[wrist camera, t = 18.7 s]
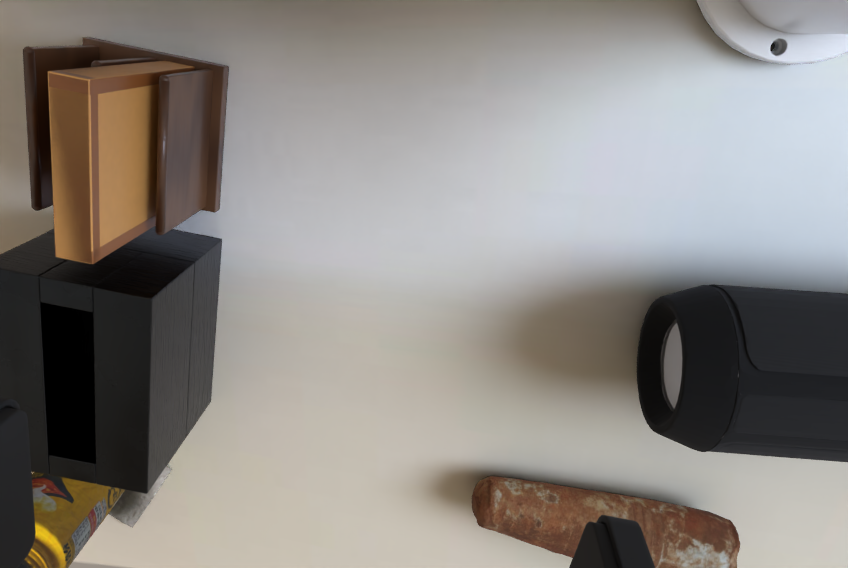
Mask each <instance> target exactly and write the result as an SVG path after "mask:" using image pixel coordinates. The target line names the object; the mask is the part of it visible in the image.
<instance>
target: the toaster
mask: <svg viewBox="0 0 848 568" xmlns="http://www.w3.org/2000/svg"><path fill="white" fill-rule="evenodd" d="M221 246H222V239H218V238H213V237H208V236H203V235H198V234H193V233H188V232H183V231H178V230H173V229H171V230H170V231H168V232H167V233H165V234H163V235H158V234H156V232H155V226H154V227H152V228H150V229H149V230H147V231H146V232H144V233H142V234H141V235H139V236H138V237H136V238H134V239H133V240H131V241H130V242H128V243H126V244H125V245H123V246H121V247H120V248H118V249H117V250H115V251H113V252H112V253H110V254H109V255H107V256H105V257H104V258H102V259H101V260H99V261H97V262H96V263H94V264H89V263H84V262H79V261H74V260H69V259H64V258H59V257H55V232H54V229H53V230H50V231H48V232H46V233H45V234H43V235H41V236H38V237H36V238H34V239H32V240H30V241H28V242H26V243H24V244H22V245H20V246H18V247H15V248H13V249H11V250H9V251H7V252H5V253H3V254H1V255H0V397H4V398H9V399H13V400H16V401H17V403H18V404H19V407H20V410H22V411H25V413H26V414H27V418H28V429H29V444H30V458H31V471H32V472H37V473H42V474H47V475H49V474H50V475H52V476H57V477H63V478H68V479H73V480H78V481H83V482H88V483H94V484H98V485H103V486H108V487H113V488H119V489H124V490H129V491H134V492H139V493H144V494H147V493H148V492H149V491H150V489H151V488H152V486H153V485H154V483H155V482H156V480H157V479H158V477H159V476H160V475H161V473H162V472H163V470H164V469H165V467H166V466H167V464H168V463H169V461H170V460H171V459H172V457H173V456H174V454H175V453H176V451H177V450H178V448H179V447H180V445H181V444H182V442H183V441H184V440H185V438H186V437H187V435H188V434H189V432H190V431H191V430H192V428H193V427H194V425H195V424H196V422H197V421H198V419H199V418H200V416H201V415H202V414H203V412H204V411H205V409H206V408H207V406H208V405H209V403H210V402H211V391H212V377H213V362H214V348H215V333H216V319H217V304H218V290H219V275H220V260H221Z"/></svg>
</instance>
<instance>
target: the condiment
mask: <svg viewBox="0 0 848 568" xmlns="http://www.w3.org/2000/svg"><path fill="white" fill-rule="evenodd" d="M171 470H172V469H170V468H168V467H167V466H166V467H165V469H164V470H163V472H162V473H161V475H160V476H159V477H158V479H157V480H156V482H155V483H154V485H153V486H152V488H151V489H150V491H149V492H148V493H147V494H144V493H139V492H134V491H129V490H124V489H119V488H113V487H108V486H103V485H98V484H94V483H88V482H83V481H78V480H73V479H68V478H63V477H57V476H52V475H50V474H49V475H47V474H42V473H37V472H34V473H33V474H32V488H33V502H34V517H35V531H36V533H35V540H34V544H33V546H32V549H31V550H30V552H29V554H28V555H27V557H26V558H25V560H24V561H23V562H22V563H21V564H20V566H19V567H18V568H68V567H69V565H70V564H71V563H72V562H73V560H74V559H75V558H76V556H77V555H78V554H79V552H80V551H81V549H82V548H83V547H84V545H85V544H86V542H87V541H88V540H89V538H90V537H91V536H92V535H93V533H94V532H95V530H96V529H97V528H98V527H99V525H100V524H101V523H102V522H103V520H104V519H105V517H106V516H107V515H108V514H110V515H112V516H113V517H115V518H116V519H118V520H119V521H121V522H122V523H125V524H127V525H128V526H130V527H132V528H133V526H134V525H135V523H136V522H137V520H138V519H139V517H140V516H141V514H142V513H143V511H144V510H145V508H146V507H147V506H148V504H149V502H150V501H151V500H152V498H153V497H154V495H155V494H156V492H157V491H158V489H159V488H160V486H161V485H162V483H163V482H164V480H165V479H166V478H167V476H168V475H169V473H170V472H171Z"/></svg>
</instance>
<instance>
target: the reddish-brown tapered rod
mask: <svg viewBox="0 0 848 568" xmlns="http://www.w3.org/2000/svg"><path fill="white" fill-rule="evenodd" d="M472 509H473V513H474V515H475V517H476V519H477V523H478V525H479V526H481V527H483V528H486V529H489V530H493V531H496V532H499V533H502V534H505V535H508V536H511V537H513V538H516V539H519V540H521V541H524V542H527V543H530V544H532V545H536V546H539V547H542V548H545V549H547V550H549V551H552V552H555V553H559V554H563V555H566V556H569V557H572V558H573V557H574V554H575V552H576V549H577V547H578V544H579V541H580V539H581V536H582V534H583V531H584V528H585V526H586V524H587V523H588V522H595V523H596V522H597V520H598V518H599V517H600V516H601V515H607V516H612V517H617V518H622V519H628V520H633V521H636V522H637V523H639V525H640V527H641V529H642V532H643V535H644V538H645V540H646V543H647V546H648V549H649V552H650V554H651V557H652V560H653V563H654V565H655V568H737V554H738V552H739V548H740V541H739V536H738V533H737V531H736V528H735V526H734V525H733V523H732V522H731V521H730V520H728V519H725V518H723V517H721V516H718V515H716V514H713V513H710V512H708V511H703V510H699V509H694V508H690V507H686V506H680V505H675V504H670V503H666V502H661V501H656V500H651V499H644V498H638V497H631V496H625V495H619V494H613V493H607V492H601V491H593V490H586V489H580V488H573V487H566V486H561V485H555V484H549V483H542V482H535V481H527V480H521V479H511V478H504V477H495V476H489V477H487V478H485V479H482V480H480V481H479V482H478V483H477V485H476V487H475V489H474V492H473V495H472Z"/></svg>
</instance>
